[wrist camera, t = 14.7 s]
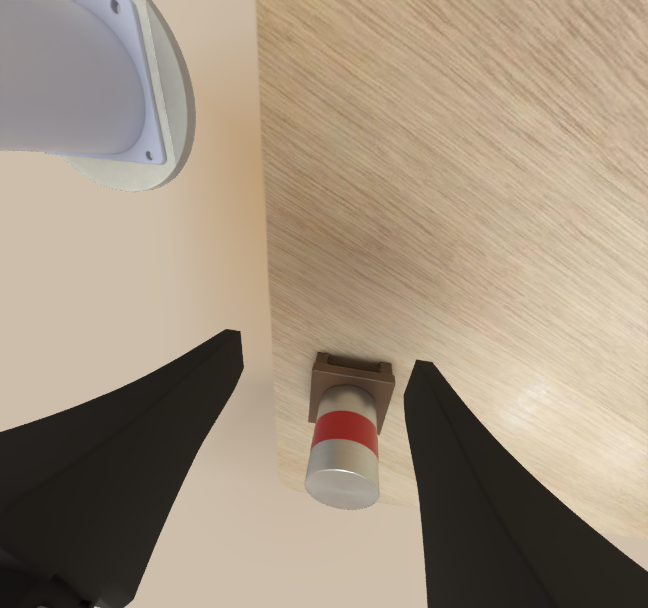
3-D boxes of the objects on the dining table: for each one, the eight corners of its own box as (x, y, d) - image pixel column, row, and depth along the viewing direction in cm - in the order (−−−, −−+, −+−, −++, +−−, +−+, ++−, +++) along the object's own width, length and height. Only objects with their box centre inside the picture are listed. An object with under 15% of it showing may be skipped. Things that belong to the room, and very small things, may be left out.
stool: (312, 401, 27) (308, 422, 25) (317, 351, 24) (312, 369, 22) (378, 413, 27) (379, 435, 24) (393, 362, 23) (395, 383, 21)
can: (311, 409, 24) (293, 493, 18) (333, 376, 22) (321, 459, 16) (359, 429, 24) (357, 517, 18) (387, 398, 22) (394, 489, 16)
